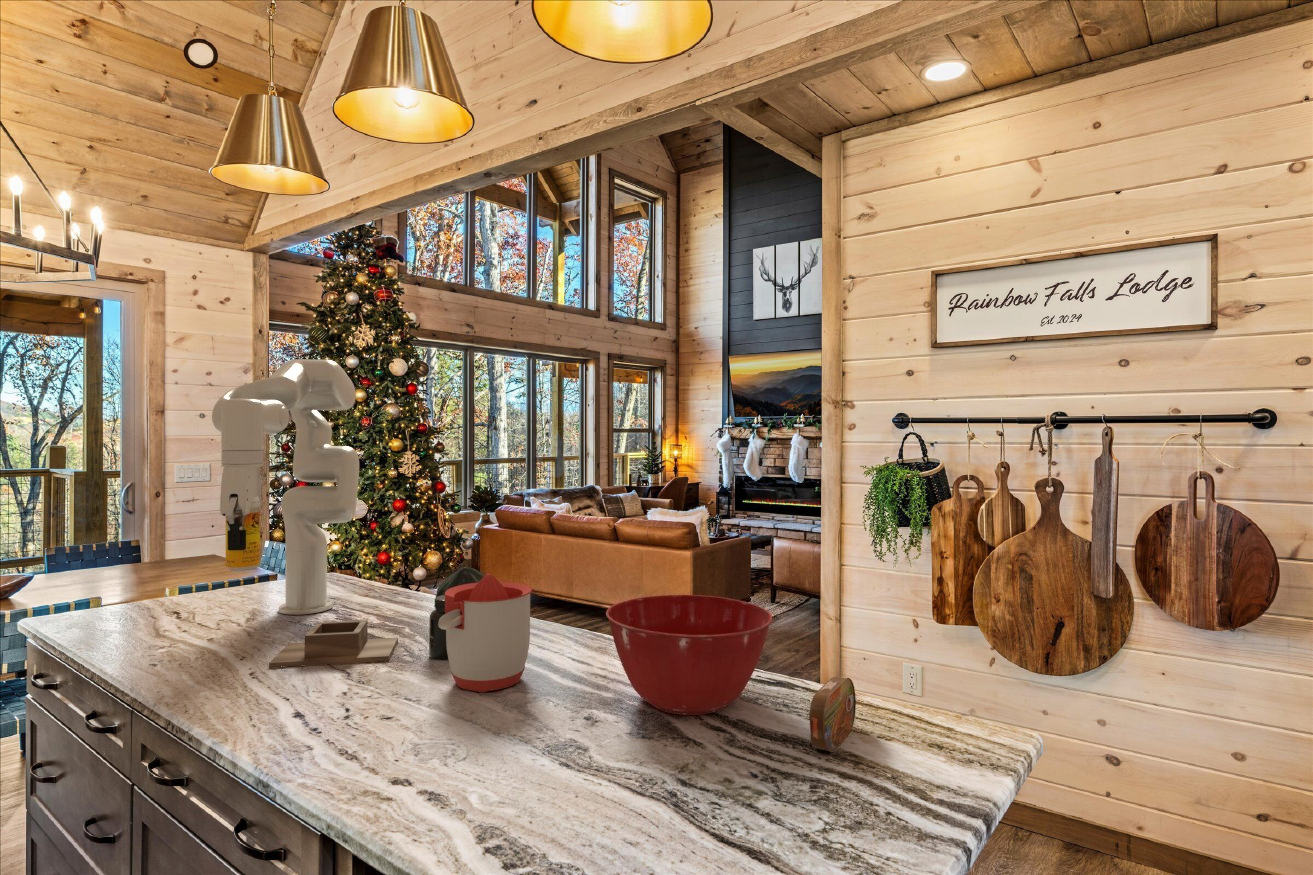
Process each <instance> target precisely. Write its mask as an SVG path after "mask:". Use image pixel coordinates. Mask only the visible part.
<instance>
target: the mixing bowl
mask: <svg viewBox="0 0 1313 875" xmlns="http://www.w3.org/2000/svg"><path fill="white" fill-rule="evenodd" d="M605 615H606V618H607V619H608V622H609V627H610V631H611V634H612V639H613V642H614V646H615V649H616V652H617V655H618V657H619V661H620V663H621V665H622V668H623V670H624V673H625V675H626V677H627V679H628V681H629V682H630V684H631V687H632V688H633V689H634V691H635V692H636V694H637V695H639V696H640V698H642V700H644V701H646V702H647V703H648V704H650V705H651V706H652V707H653V708H655V709H657V710H660V711H663V712H665V713H669V714H675V715H681V716H682V715H683V716H684V715H685V716H700V715H706V714H708V715H709V714H711V713H715V712H718V711H720V710H722V709H723V708H725V707H726V706H728V705H730V704H731V703H733V702H734V701H735V700H736V699H737V698H739V696H741V694H742V693H743V692H744V690H745V689H746V687H747V685H748V683H749V681H750V680H751V677H752V676H753V673H754V671H755V669H756V667H757V664H758V663H759V661H760V658H761V656H762V652H763V650H764V647H765V646H764V645H765V643H766V639H767V635H768V633H769V632H768V631H769V628H770V625H771V623H772V622H773V615H772V613H771V612H770V611H769V610H768V609H766V608H764V607H762V606H759V605H757V604H754V603H751V602H747V601H744V600H739V599H734V598H729V597H722V596H712V595H702V594H701V595H699V594H663V595H662V594H661V595H649V596H642V597H635V598H631V599H627V600H623V601H620V602H617V603H615V604H613V605H611V606H610V607H608V609H607V610H606V612H605Z"/></svg>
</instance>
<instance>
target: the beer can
mask: <svg viewBox="0 0 1313 875" xmlns="http://www.w3.org/2000/svg"><path fill="white" fill-rule="evenodd" d="M235 514H242V513H241V511H236V512H235ZM238 519H239V522H240V518H238ZM244 530H246V549H245V550H228V530H227V519H226V518H225V567H226V568H227V569H228V571H229V572H247V571H253V570H256V569H258V567H259V565H260V564H261V508H260V500H259V498H258V495H257V496H254V498H253V501H252V505H251V510H250V514H248V515H247V516H246V518H245V525H244Z"/></svg>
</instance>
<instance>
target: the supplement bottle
mask: <svg viewBox="0 0 1313 875" xmlns="http://www.w3.org/2000/svg"><path fill="white" fill-rule="evenodd" d="M433 605H434V606H433V607H434V610H432V612H431V613H430V614H429V617H428V618H429V620H428V621H429V622H428V623H429V625H428V628H429V630H428V635H429V636H428V653H429V654H428V655H429V657H430V658H431V659H434V660H436V661H438V660H439V661H449V659H448V654H447V645H446V630H443V629H441V628H439V626H438V622H439V619H440V618H441V617H442V616H443V615H445V595H442V596H438V597H436V596H435V598H434V604H433ZM435 608H436V609H435Z"/></svg>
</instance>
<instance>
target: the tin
mask: <svg viewBox="0 0 1313 875" xmlns="http://www.w3.org/2000/svg"><path fill="white" fill-rule="evenodd" d="M856 699H857V698H856V688H855V686H854V682H853V680H852V679H851V678H850V677H838V676H833V677H831V678H830V679H829V680H828V681H826V683H824V684H823V685H822V687H820V688H819V689H818V690H817V691H816V692H815V693H814V694H813V696H812V699H811V702H810V705H809V712H808V714H809V716H808V717H809V718H808V719H809V731H810V741H811V744H812V746H813V748H815V749H817V750H821V751H826V752H827V751H828V752H830V753H834V752H836V751H837V749H838V748H839V747H840V745H842V743H843V742H844V740H846V738H847V737H848V735H850V733H851V731H852V730H853V726H854V723H855V718H856V710H857V709H856V705H857V704H856V703H857V702H856V701H857V700H856Z"/></svg>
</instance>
